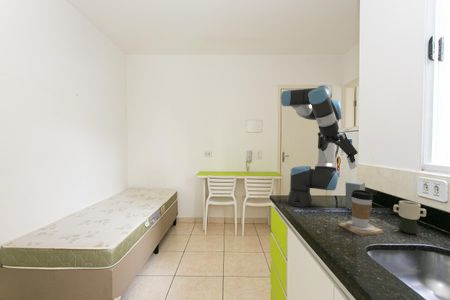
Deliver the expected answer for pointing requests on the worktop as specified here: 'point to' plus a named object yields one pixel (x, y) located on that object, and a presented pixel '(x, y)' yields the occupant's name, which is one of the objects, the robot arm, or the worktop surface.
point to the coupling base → (360, 228)
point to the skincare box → (349, 189)
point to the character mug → (409, 215)
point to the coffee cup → (361, 207)
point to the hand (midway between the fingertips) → (340, 164)
